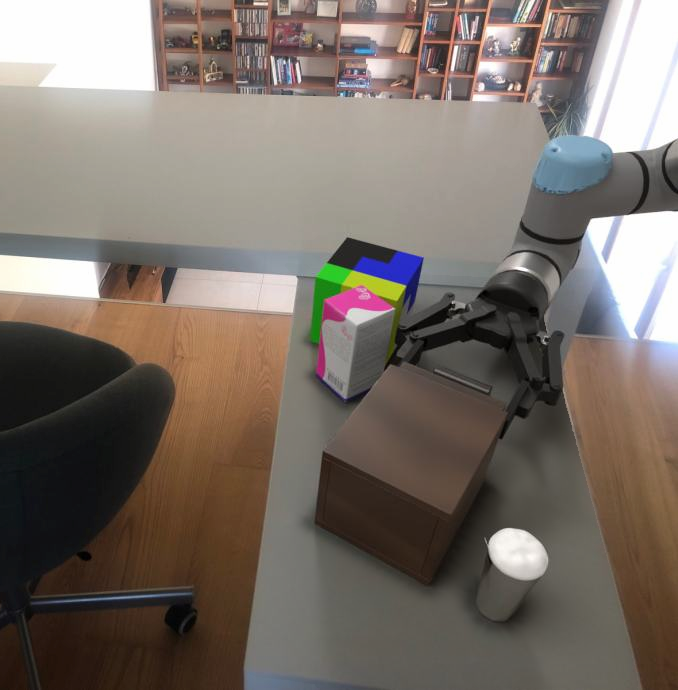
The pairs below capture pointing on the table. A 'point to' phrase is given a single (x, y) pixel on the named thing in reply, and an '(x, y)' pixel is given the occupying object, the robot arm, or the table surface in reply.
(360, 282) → the puzzle toy
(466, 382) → the drawer
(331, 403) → the table surface
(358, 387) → the supplement box
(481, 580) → the milkshake
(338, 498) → the cabinet
